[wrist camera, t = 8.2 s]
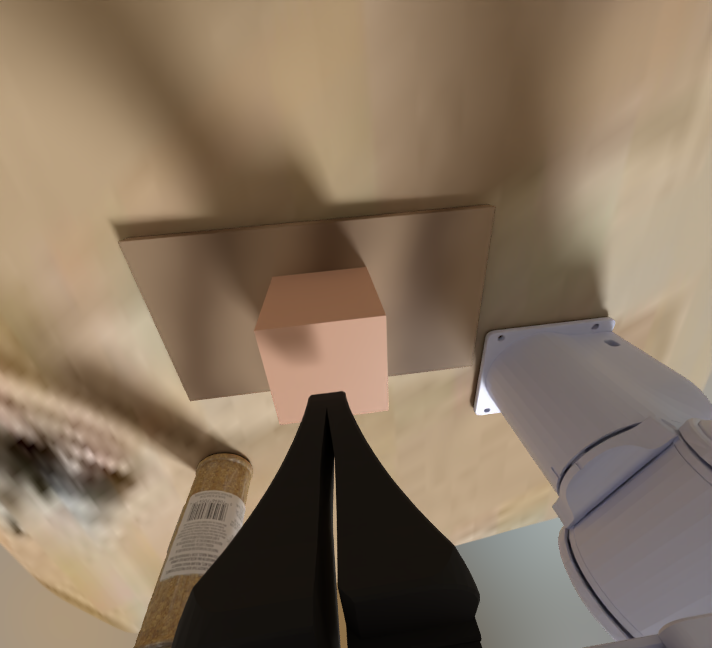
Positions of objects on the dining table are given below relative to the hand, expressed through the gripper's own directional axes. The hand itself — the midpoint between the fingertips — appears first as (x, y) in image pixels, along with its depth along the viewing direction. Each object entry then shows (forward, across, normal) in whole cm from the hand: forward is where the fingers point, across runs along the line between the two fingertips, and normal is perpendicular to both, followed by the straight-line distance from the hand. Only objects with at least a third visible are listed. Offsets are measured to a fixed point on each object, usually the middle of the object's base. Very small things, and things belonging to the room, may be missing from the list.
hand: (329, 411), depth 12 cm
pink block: (+8, 0, 0) cm, 8 cm away
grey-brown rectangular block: (+9, 0, 0) cm, 9 cm away
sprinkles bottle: (+9, +10, +14) cm, 20 cm away
